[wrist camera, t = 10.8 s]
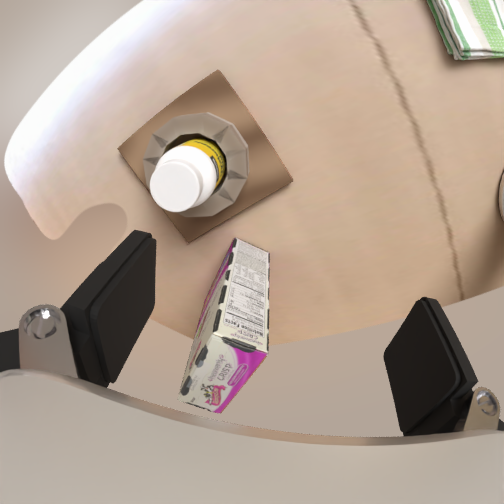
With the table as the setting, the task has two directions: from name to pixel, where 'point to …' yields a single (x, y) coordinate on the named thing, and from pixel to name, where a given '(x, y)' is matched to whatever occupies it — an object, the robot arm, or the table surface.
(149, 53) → the table surface
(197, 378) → the candy bar box
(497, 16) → the dish towel
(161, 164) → the supplement bottle
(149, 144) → the hub block
